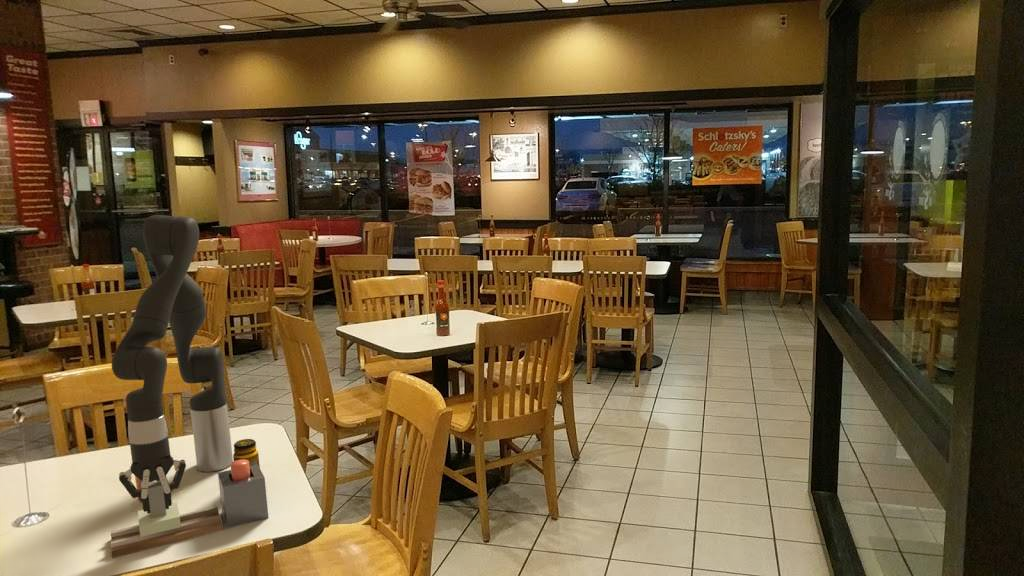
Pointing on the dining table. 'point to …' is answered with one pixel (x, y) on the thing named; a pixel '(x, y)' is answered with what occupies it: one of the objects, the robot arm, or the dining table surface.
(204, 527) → the rail track
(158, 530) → the carriage
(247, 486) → the cabinet
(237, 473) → the plunger
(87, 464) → the dining table surface
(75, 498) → the dining table surface
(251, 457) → the condiment
